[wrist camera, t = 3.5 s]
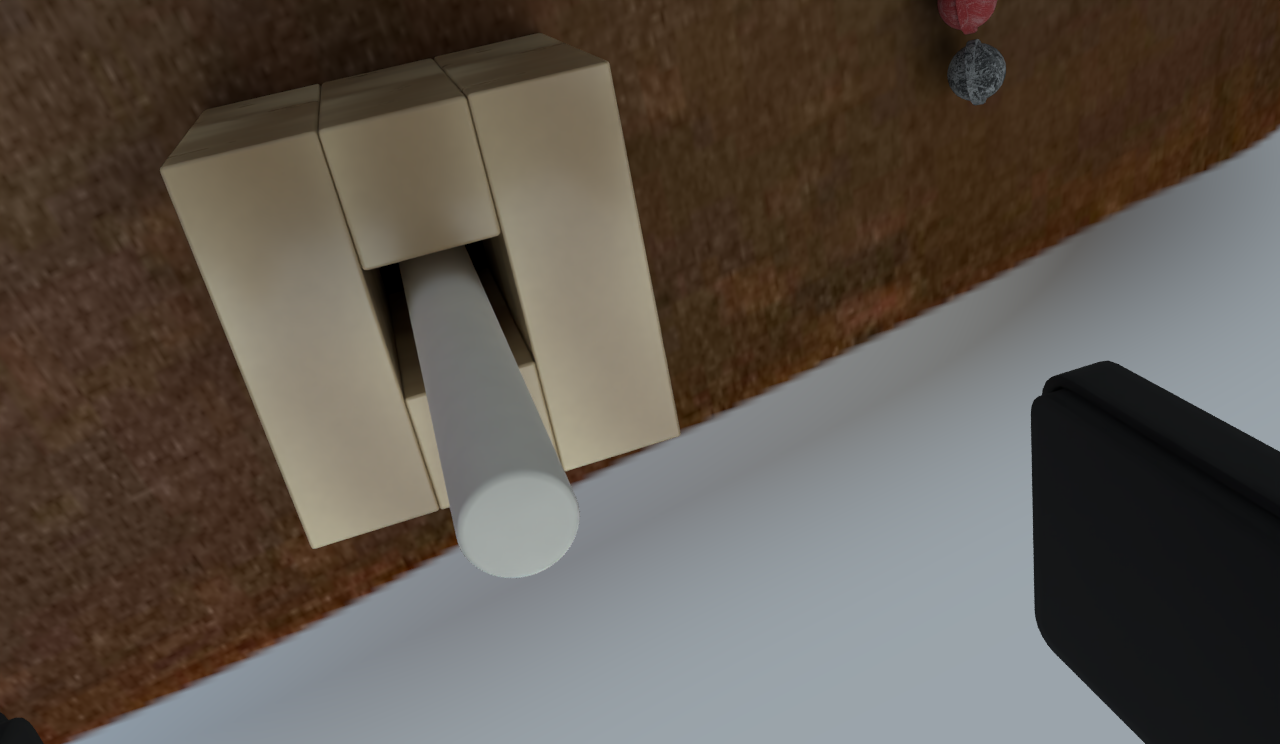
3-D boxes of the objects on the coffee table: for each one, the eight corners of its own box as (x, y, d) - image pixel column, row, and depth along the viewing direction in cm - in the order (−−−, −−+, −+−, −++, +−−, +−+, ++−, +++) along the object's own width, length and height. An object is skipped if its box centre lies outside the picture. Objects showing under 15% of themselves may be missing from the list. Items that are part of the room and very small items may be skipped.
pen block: (316, 414, 24) (311, 551, 18) (202, 110, 20) (157, 167, 15) (607, 331, 25) (682, 436, 20) (541, 31, 22) (609, 60, 16)
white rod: (402, 268, 23) (474, 597, 11) (384, 209, 22) (441, 494, 11) (462, 252, 23) (592, 558, 12) (445, 193, 22) (566, 456, 11)
